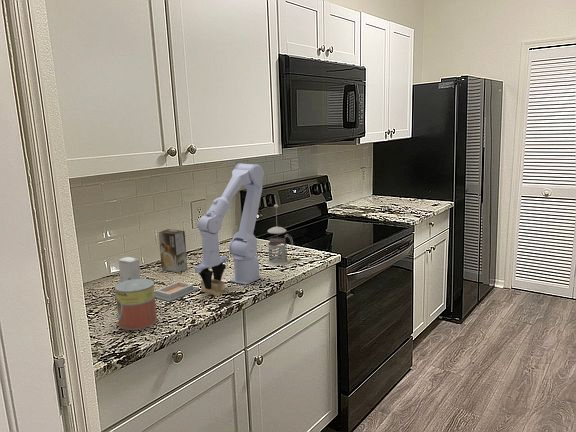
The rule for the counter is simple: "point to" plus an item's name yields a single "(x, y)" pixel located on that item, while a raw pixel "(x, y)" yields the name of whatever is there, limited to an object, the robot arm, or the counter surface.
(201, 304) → the counter surface
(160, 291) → the board
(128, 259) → the skincare box
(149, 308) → the canned food
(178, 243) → the coffee box
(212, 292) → the maple block
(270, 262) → the french press
